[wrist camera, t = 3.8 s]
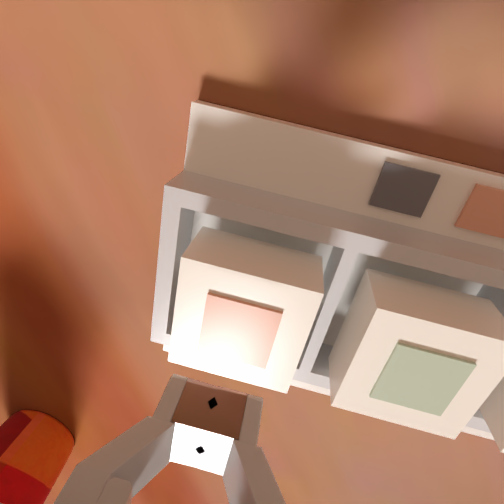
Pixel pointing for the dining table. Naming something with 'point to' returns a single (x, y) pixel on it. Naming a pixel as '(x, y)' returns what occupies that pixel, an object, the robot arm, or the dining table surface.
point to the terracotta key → (244, 308)
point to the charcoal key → (495, 414)
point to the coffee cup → (31, 456)
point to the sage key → (416, 354)
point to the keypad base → (331, 217)
